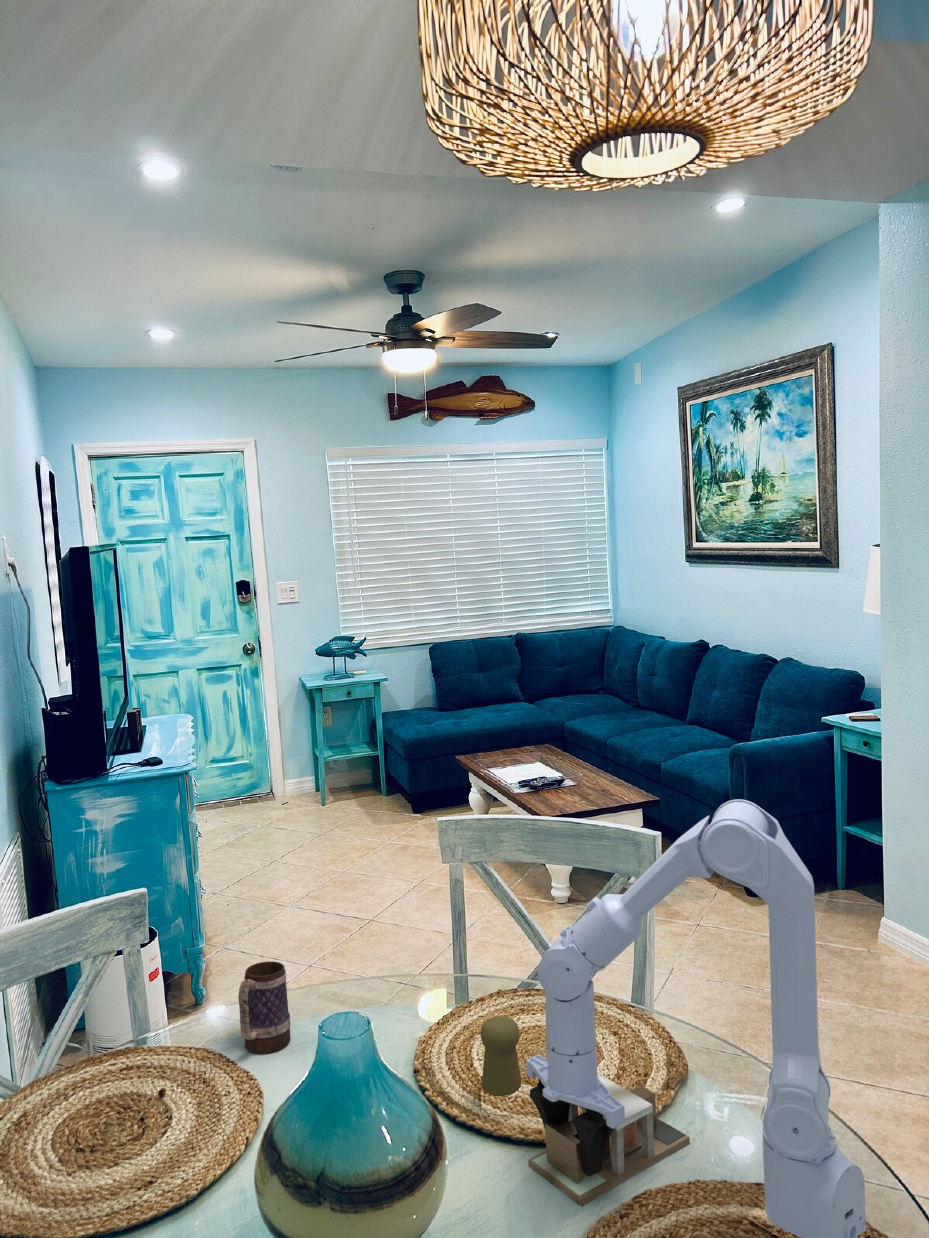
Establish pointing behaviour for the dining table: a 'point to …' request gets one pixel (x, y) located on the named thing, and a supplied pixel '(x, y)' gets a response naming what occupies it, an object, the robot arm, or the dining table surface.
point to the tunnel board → (617, 1150)
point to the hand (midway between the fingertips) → (575, 1159)
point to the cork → (500, 1056)
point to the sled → (566, 1143)
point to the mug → (264, 1008)
